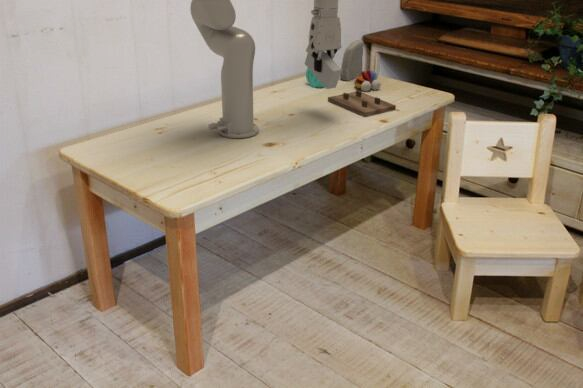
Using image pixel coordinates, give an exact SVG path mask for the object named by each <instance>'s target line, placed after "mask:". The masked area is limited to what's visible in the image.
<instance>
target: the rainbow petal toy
mask: <svg viewBox="0 0 583 388" xmlns="http://www.w3.org/2000/svg"><path fill="white" fill-rule="evenodd" d="M361 75H362V76H360V77H359V76H357V77H356V78H354V79H353V80H354V81H353V85H354V87H356V88H358V89H360V90H361V91H363V92H368V91H370V89H371V90H373V91H377V90H379V89H380V88H381V85H382V83H381V81H380V80H379V79H378V76H379V75H378V73H377V72H373V70H372V69H367V70H366V71H365V70H362V72H361Z"/></svg>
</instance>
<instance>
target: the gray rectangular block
mask: <svg viewBox="0 0 583 388" xmlns="http://www.w3.org/2000/svg"><path fill="white" fill-rule="evenodd" d="M312 50H313V51H314V49H312ZM317 53H318V52H317ZM320 60H322V68H321V72H317V71H315V70H314V58H313V57H312V56H311V54H309V53H308V52H307V55H306V58H305V61H304V65H305V67H307V68H309V69H310V70H311V72H312V73H313V74H314V75H315V76H316V77H317V78H318V79H319V81H320V82H321V83H322V84H323V85H324V86H325V89H326V90H329V89H336V87H337V85H338V83H339V80H340V74H341V71H342V69H341V67H340V66H339V64H338V63H337V62H336V61H334V60H333V59H331V57H330V56H329V55H328V54H327V53H326V51H322V53H321V59H320Z"/></svg>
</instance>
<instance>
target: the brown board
mask: <svg viewBox="0 0 583 388" xmlns="http://www.w3.org/2000/svg"><path fill="white" fill-rule="evenodd" d="M362 91H363V90H358V89H356V90H355V91H353V92H352V91H351V92H348V93H347V92H343V93H342V94H338V95H333V96H328V97H327V102H328V103H331V104H333V105H335V106H339V107H340V108H343V109H345V110H347V111H349V112H352V113H354V114H356V115H358V116H361V117H363V118H367V117H371V116H374V115H378V114H380V115H381V114H382V113H383V114H384V113H387V112H392V111H396V110H397V109H396V108H397V105H395V104H394V103H393V104H392V103H391V102H388V101H385V100H383V99H381V98H380V97H377V96H376V97H375V96H372V95H370V94H367V93H364V92H362Z"/></svg>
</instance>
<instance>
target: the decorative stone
mask: <svg viewBox="0 0 583 388" xmlns="http://www.w3.org/2000/svg"><path fill="white" fill-rule="evenodd" d="M363 56H364V40H362V39H355V40H353V41H351V43H350V44H348V45H347V46H346V48H345V50H344V52H343V57H342V61H341V65H340V66H341V67H340V68H341V69H342V71H341V74H340V77H339V80H341V81H347V82H348V81H351V80H355V79H356V77H357V76H359V77H362V75H361V72H362V71H363Z"/></svg>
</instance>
